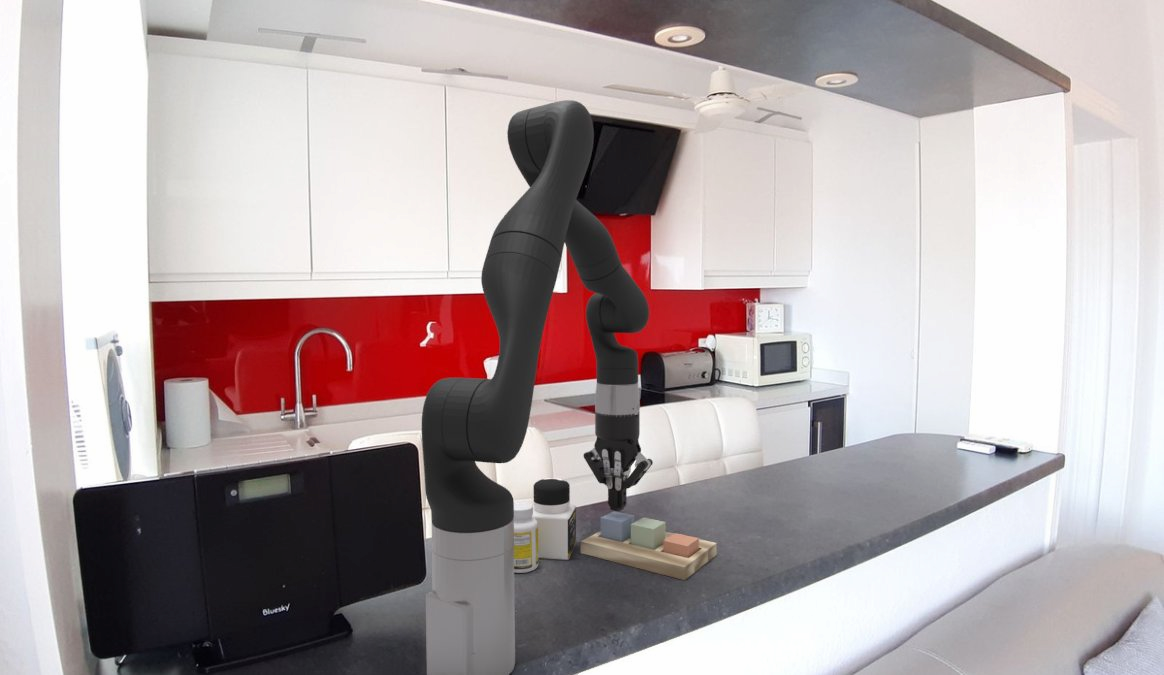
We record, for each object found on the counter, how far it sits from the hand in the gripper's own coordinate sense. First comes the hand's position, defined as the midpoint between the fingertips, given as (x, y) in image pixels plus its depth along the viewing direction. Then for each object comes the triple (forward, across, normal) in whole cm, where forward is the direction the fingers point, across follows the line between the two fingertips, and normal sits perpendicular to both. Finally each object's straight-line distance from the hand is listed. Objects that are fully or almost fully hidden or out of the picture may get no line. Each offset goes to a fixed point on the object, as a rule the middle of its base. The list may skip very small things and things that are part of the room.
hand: (617, 509), depth 113 cm
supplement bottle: (+6, -8, -16) cm, 19 cm away
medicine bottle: (+6, -8, -8) cm, 13 cm away
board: (+6, +6, 0) cm, 9 cm away
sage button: (+5, +6, 0) cm, 8 cm away
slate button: (+5, 0, 0) cm, 5 cm away
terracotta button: (+6, +12, 0) cm, 14 cm away
